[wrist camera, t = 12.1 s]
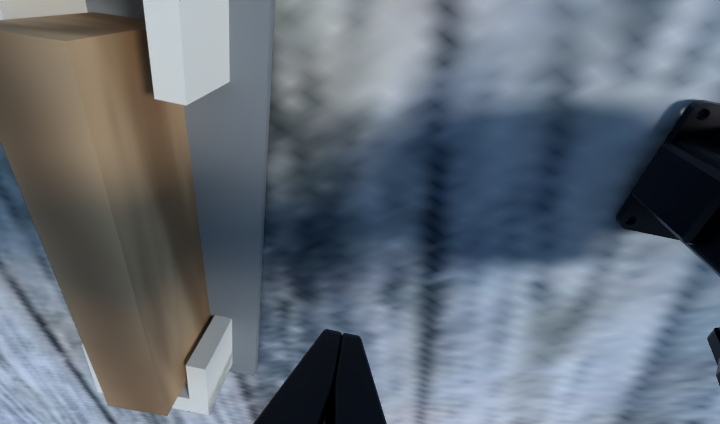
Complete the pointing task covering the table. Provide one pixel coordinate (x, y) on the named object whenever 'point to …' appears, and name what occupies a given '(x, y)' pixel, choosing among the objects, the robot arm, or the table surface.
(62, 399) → the table surface
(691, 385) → the table surface
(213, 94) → the end cap frame
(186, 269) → the wooden block
